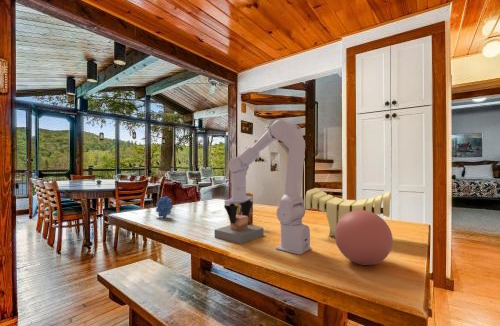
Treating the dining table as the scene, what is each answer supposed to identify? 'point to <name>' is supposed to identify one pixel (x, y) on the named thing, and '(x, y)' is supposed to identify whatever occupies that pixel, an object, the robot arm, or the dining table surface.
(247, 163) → the robot arm
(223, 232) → the charcoal plinth
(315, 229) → the dining table surface
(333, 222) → the slatted curved stool
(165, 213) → the grapes
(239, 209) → the candy box
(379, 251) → the matte pink egg
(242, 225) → the terracotta block
